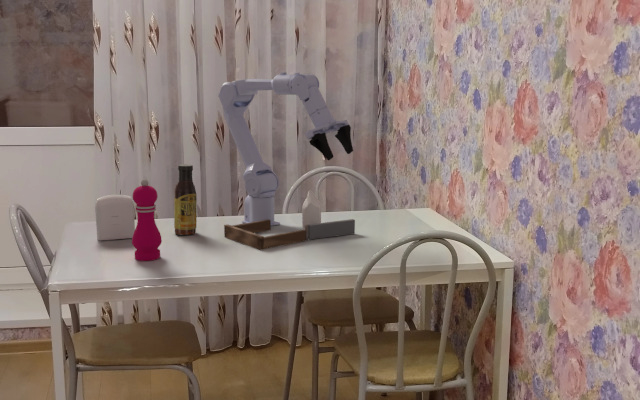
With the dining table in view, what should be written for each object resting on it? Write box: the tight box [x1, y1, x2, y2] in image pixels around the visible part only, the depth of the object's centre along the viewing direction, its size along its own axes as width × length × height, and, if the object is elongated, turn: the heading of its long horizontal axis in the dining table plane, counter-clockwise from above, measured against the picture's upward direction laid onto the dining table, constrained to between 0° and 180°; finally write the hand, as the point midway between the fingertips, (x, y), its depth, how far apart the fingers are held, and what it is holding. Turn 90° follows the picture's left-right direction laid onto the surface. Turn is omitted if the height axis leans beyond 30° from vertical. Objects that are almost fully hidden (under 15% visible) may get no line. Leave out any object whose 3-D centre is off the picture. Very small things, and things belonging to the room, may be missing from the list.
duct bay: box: [223, 219, 309, 251], centre depth 197 cm, size 17×17×4 cm
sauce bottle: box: [173, 163, 198, 236], centre depth 200 cm, size 6×6×20 cm
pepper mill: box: [131, 178, 163, 262], centre depth 175 cm, size 7×7×20 cm
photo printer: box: [94, 194, 136, 242], centre depth 195 cm, size 10×4×12 cm, turn 108°
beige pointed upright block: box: [301, 189, 322, 230], centre depth 206 cm, size 6×12×6 cm
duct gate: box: [308, 218, 356, 240], centre depth 199 cm, size 15×1×4 cm, turn 120°
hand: (340, 155), depth 194 cm, fingers open, 7 cm apart
